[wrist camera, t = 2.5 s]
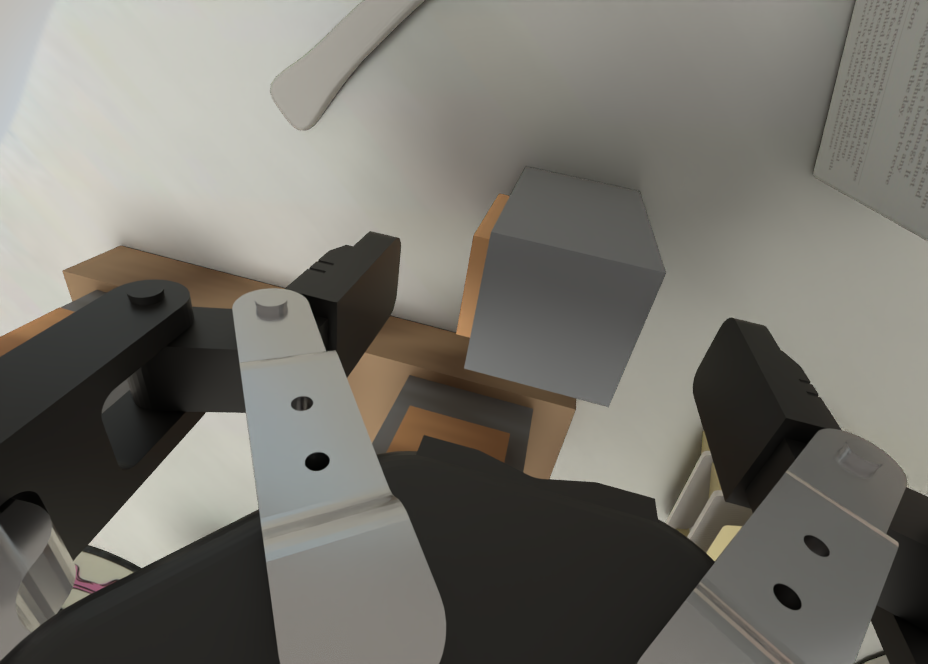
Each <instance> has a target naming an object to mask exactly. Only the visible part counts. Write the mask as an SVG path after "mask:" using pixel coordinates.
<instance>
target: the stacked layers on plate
mask: <svg viewBox="0 0 928 664" xmlns="http://www.w3.org/2000/svg"><path fill="white" fill-rule="evenodd" d="M751 515H752V510H751V509H750V508H746V507H743V506H739V505H735V504H732V503H728V502H725V500H724V496H723V493H722V490H721V486H720V483H719V479H718V476H717V473H716V469H715V466H714V463H713V459H712V456H711V453H710V449H709V446H708V442H707V439H706V436H705V432H704V431H703V435H702V448H701V456H700V458H699V460H698V462H697V464H696V466H695V467H694V469H693V471H692V473H691V475H690V477H689V479H688V481H687V483H686V485H685V486H684V488H683V490H682V492H681V494H680V496H679V498H678V500H677V502H676V504H675V505H674V507H673V509H672V511H671V513H670V515H669V517H668V519H667V521H666V524H668V525H669V526H671V527H673V528H674V529H676V530H678V531H679V532H680V533H682V534H683V535H685V536H686V537H687V538H689V539H690V540H692V541H693V542H694V543H695V544H696V545H697V546H699V547H700V548H701V549H702V550H703V551H705V552H706V553H707V554H708V555H709V556H710V557H711V558H712V559H713V560H714V561H715V560H716V559H717V558H718V557H719V555H720V554H721V553H722V551H723V550H724V549H725V548H726V546H727V545H728V544H729V543H730V541H731V540H732V539H733V537H734V536H735V535H736V534H737V532H738V531H739V530H740V529H741V527H742V526H743V525H744V524H745V522H746V521H747V520H748V518H749V517H750V516H751Z"/></svg>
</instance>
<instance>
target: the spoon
mask: <svg viewBox="0 0 928 664" xmlns="http://www.w3.org/2000/svg"><path fill="white" fill-rule="evenodd" d="M424 1H425V0H363V1H362V2H361V3H360V4H359V5H357V6H356V7H355V8H354V9H353V10H352V11H351V12H350V13H349V14H348V15H347V16H346V17H345V18H344V19H343V20H342V21H341V22H340V23H339V24H338V25H337V26H336V27H335V28H334V29H333V30H332V31H331V32H330V33H328V34H327V35H326V36H325V37H324V38H323V39H322V40H321V41H320V42H319V43H318V44H317V45H316V46H315V47H314V48H313V49H311V50H310V51H309V52H308V53H307V54H306V55H305V56H303V57H302V58H300V59H299V60H298V61H296V62H295V63H294V64H292V65H291V66H289V67H288V68H287V69H285V70H284V71H283V72H281V73H280V74H279V75H278V76H277V77H276V78H275V79H274V81H273V82H272V83H271V87H270V93H271V96H272V99H273V100H274V102H275V104H276V105H277V107H278V108H279V110H280V111H281V112H282V114H283V115H284V116H285V118H286V119H287V121H288V122H289V123H290V124H291V125H292V126H293V127H294V128H296V129H298V130H309V129H310V128H311V127H312V126H314V125H315V124H316V122H317V121H318V120H319V118H320V117H321V116H322V114H323V113H324V112H325V110H326V109H327V107H328V106H329V104H330V103H331V101H332V100H333V98H334V97H335V96H336V94H337V93H338V91H339V90H340V89H341V87H342V86H343V84H344V83H345V82H346V81H347V79H348V78H349V77H350V76H351V74H352V73H353V72H354V71H355V69H356V68H357V67H358V66H359V65H360V63H361V62H362V61H363V60H364V59H365V58H366V57H367V56H368V55H369V54H370V53H371V52H372V51H373V50H374V49H375V48H376V47H377V46H378V45H379V44H380V43H381V42H382V41H383V40H384V39H385V38H386V37H387V36H388V35H389V34H390V33H391V32H392V31H393V30H394V29H395V28H396V27H397V26H398V25H399V24H400V23H401V22H402V21H403V20H404V19H405V18H406V17H407V16H408V15H410V14H411V13H412V12H413V11H414V10H415V9H416V8H417V7H418V6H419V5H420V4H421V3H423V2H424Z"/></svg>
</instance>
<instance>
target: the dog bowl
mask: <svg viewBox="0 0 928 664" xmlns="http://www.w3.org/2000/svg"><path fill="white" fill-rule="evenodd" d="M73 562H74V564H75V569H76V577H75V582H74V585H73V588H72V590H71V592H70V594H69V596H68V598H67V599H66V601H65V602H64V604H63V605H62V607H61V608H60V610H59V611H58V613H59V612H60V611H62V610H63V609H65V608H66V607H68V606H70V605H72V604H73V603H75V602H77V601H79V600H81V599H82V598H84V597H86V596H88V595H90V594H92V593H94V592H96V591H98V590H100V589H102V588H104V587H106V586H108V585H110V584H112V583H114V582H116V581H118V580H120V579H122V578H124V577H126V576H128V575H130V574H132V573H134V572H136V571H138V570H140V569H142V568H140V567H138V566H136V565H135V564H133V563H131V562H129V561H127V560H124V559H122V558H120V557H118V556H116V555H114V554H111V553H109V552H106V551H104V550H101V549H98V548H95V547H92V546H88V545H87V546H86V547H85V548H84V550H83V551H82V552H81V553H80V554H79V555H78V556H77V557H76V559H75V560H74V561H73Z"/></svg>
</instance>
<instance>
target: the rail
mask: <svg viewBox="0 0 928 664" xmlns="http://www.w3.org/2000/svg"><path fill="white" fill-rule="evenodd" d="M63 274H64V277H65V280H66V283H67V286H68V289H69V292H70V295H71V298H72V301H73V302H71V303H69V304H67V305H65V306H63V307H61V308H58V309H55V310H53V311H51V312H49V313H47V314H45V315H43V316H41V317H39V318H37V319H35V320H33V321H31V322H29V323H27V324H25V325H23V326H21V327H19V328H17V329H15V330H13V331H11V332H9V333H7V334H5V335H3V336H1V337H0V357H1V356H2V355H4V354H6V353H7V352H9V351H11V350H12V349H14V348H16V347H17V346H19V345H21V344H22V343H24V342H26V341H27V340H29V339H31V338H32V337H34V336H36V335H37V334H39V333H41V332H42V331H44V330H46V329H47V328H49V327H51V326H52V325H54V324H56V323H57V322H59V321H61V320H62V319H64V318H66V317H67V316H69V315H71V314H72V313H74V312H76V311H77V310H79V309H81V308H82V307H84V306H86V305H87V304H89V303H91V302H92V301H94V300H96V299H97V298H99V297H101V296H102V295H104V294H106V293H107V292H109V291H111V290H112V289H114V288H116V287H119V286H121V285H124V284H127V283H131V282H135V281H141V280H168V281H173V282H177V283H179V284H182V285H183V286H185V287H186V288H187V289H188V290H189V292H190V297H191V303H192V307H209V308H226V309H232V307H233V304H234V302H235V301H236V300H237V299H238V298H239V297H241V296H242V295H244V294H246V293H249V292H252V291H255V290H260V289H267V288H278V289H285V288H281V287H277V286H273V285H270V284H266V283H262V282H258V281H254V280H250V279H247V278H243V277H239V276H235V275H231V274H227V273H223V272H220V271H216V270H212V269H208V268H204V267H200V266H197V265H193V264H189V263H185V262H181V261H177V260H173V259H170V258H166V257H162V256H158V255H154V254H150V253H147V252H143V251H139V250H135V249H131V248H127V247H123V246H119V247H116V248H114V249H112V250H109V251H107V252H105V253H102V254H100V255H98V256H96V257H93V258H91V259H89V260H86V261H84V262H82V263H79V264H77V265H75V266H72V267H70V268H68V269H65V270H63ZM469 341H470V338H469V337H465V336H461V335H458V334H456V333H454V332H450V331H446V330H443V329H439V328H435V327H431V326H427V325H423V324H419V323H416V322H412V321H408V320H404V319H400V318H396V317H393V316H390V317H389V318H388V320H387V321H386V323H385V324H384V326H383V327H382V329H381V330H380V331H379V333H378V334H377V336H376V337H375V339H374V340H373V342H372V343H371V344H370V346H369V347H368V349H367V350H366V352H365V353H364V355H363V356H362V358H361V359H360V360H359V362H358V363H357V365H356V366H355V368H354V369H353V371H352V372H351V373H350V375H349V376H348V378H347V380H348V382H349V385H350V388H351V390H352V393H353V395H354V398H355V401H356V403H357V406H358V408H359V411H360V414H361V416H362V419H363V421H364V424H365V427H366V429H367V432H368V435H369V437H370V440H371V442H372V445H373V448H374V450H375V453H376V455H377V454H381V453H388V452H395V451H418V448H419V446H420V443H421V441H422V438H423V436H424V435H426V436H430V437H433V438H437V439H440V440H444V441H448V442H451V443H455V444H459V445H462V446H466V447H469V448H473V449H477V450H480V451H482V452H484V453H486V454H488V455H490V456H492V457H494V458H496V459H498V460H499V461H501V462H503V463H505V464H507V465H509V466H511V467H513V468H515V469H517V470H519V471H521V472H523V473H525V474H527V475H529V476H532V477H535V478H539V479H550V476H551V473H552V471H553V468H554V465H555V463H556V460H557V457H558V455H559V452H560V450H561V447H562V444H563V442H564V439H565V436H566V434H567V431H568V429H569V426H570V423H571V421H572V418H573V415H574V413H575V410H576V398H573V397H569V396H565V395H561V394H558V393H554V392H550V391H547V390H543V389H539V388H535V387H532V386H528V385H524V384H520V383H517V382H513V381H509V380H505V379H502V378H498V377H494V376H491V375H487V374H483V373H479V372H476V371H472V370H468V369H464V366H465V361H466V356H467V351H468V346H469ZM129 390H130V388H129V384H128V381H127V379H126V380H125V381H124V382H123V383H121V384H120V385H119V386H118V387H117V388H115V389H114V390H113V391H112V392H111V393H110V395H109V396H108V397H107V399H106V401H105V403H104V405H103V409H102V413H103V412H104V411H106V410H107V409H108V408H109V407H110V406H111V405H113V404H114V403H115V402H116V401H117V400H118V399H120V398H121V397H122V396H123V395H124V394H125V393H126V392H128V391H129Z"/></svg>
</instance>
